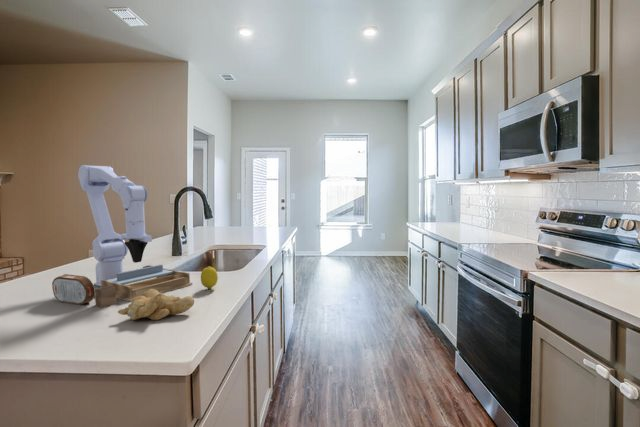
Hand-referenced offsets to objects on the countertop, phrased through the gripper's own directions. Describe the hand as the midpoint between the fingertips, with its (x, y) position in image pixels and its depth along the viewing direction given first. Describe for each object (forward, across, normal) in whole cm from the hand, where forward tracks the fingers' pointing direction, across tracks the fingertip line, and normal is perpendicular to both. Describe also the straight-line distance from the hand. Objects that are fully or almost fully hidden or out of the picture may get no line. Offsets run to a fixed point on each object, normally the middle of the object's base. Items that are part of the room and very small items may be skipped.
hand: (137, 261), depth 121 cm
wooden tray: (+10, 0, +4) cm, 11 cm away
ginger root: (+10, +27, -12) cm, 31 cm away
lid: (+7, -4, +4) cm, 8 cm away
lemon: (+10, +19, +14) cm, 26 cm away
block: (+10, +5, -13) cm, 17 cm away
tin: (+10, -6, -17) cm, 21 cm away
